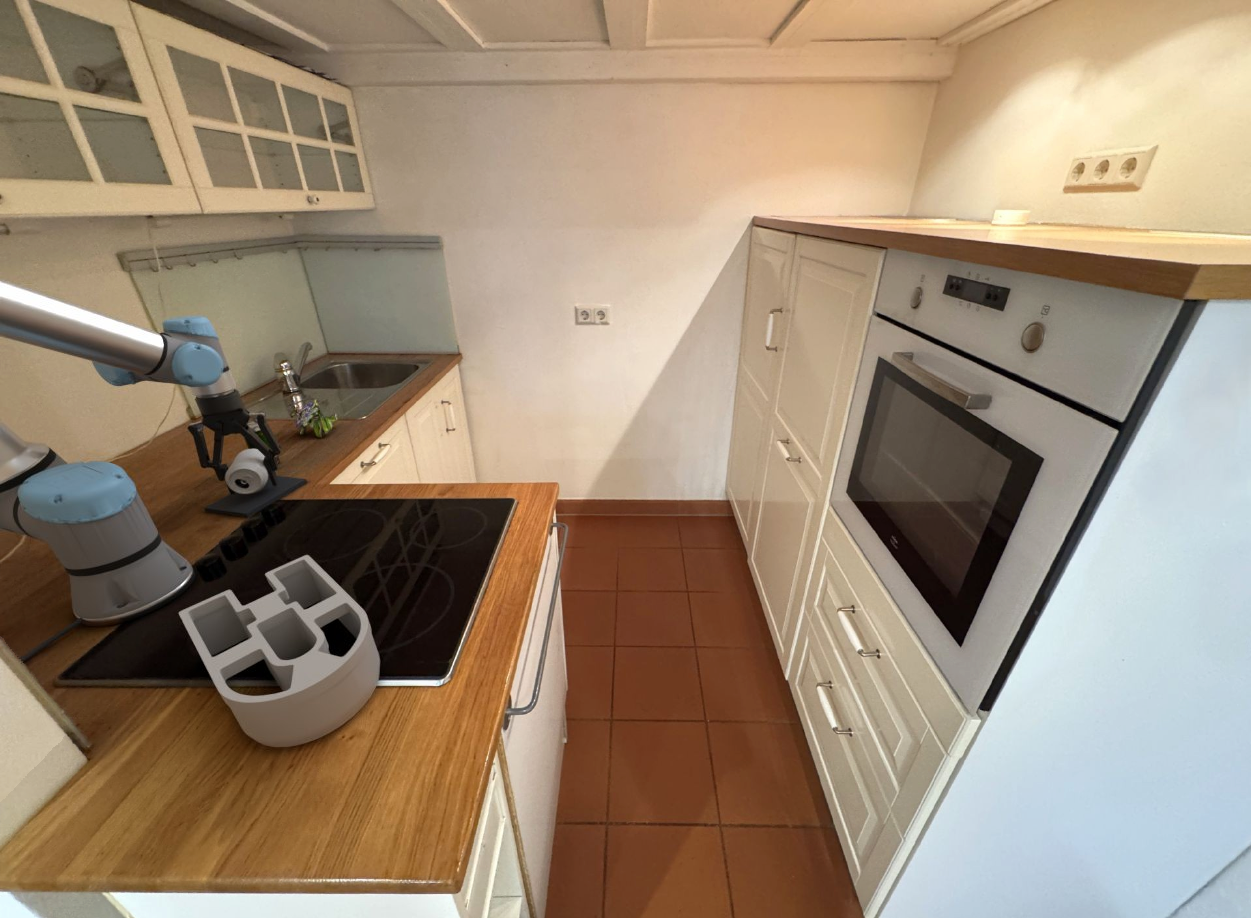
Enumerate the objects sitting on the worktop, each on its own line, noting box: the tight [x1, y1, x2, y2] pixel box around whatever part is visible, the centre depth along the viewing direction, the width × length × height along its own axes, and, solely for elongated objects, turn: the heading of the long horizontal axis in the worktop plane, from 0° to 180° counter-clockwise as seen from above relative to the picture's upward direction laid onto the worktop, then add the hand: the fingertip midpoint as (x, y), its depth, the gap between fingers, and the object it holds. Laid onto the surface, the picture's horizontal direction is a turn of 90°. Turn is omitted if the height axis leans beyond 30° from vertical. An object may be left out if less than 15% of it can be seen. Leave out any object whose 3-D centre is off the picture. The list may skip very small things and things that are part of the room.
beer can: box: [243, 421, 281, 468], centre depth 127 cm, size 5×5×12 cm
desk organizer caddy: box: [178, 554, 381, 748], centre depth 68 cm, size 17×28×9 cm, turn 50°
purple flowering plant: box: [290, 398, 339, 438], centre depth 149 cm, size 11×11×12 cm
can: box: [224, 448, 269, 494], centre depth 114 cm, size 8×8×12 cm
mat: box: [203, 475, 308, 518], centre depth 116 cm, size 16×12×1 cm
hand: (255, 487), depth 115 cm, fingers closed on can, 7 cm apart
